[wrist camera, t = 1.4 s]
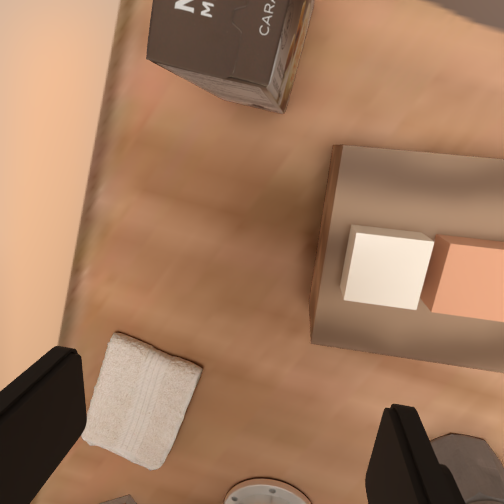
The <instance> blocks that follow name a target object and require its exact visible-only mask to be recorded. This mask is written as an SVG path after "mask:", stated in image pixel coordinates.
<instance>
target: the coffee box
mask: <svg viewBox="0 0 504 504" xmlns="http://www.w3.org/2000/svg"><path fill="white" fill-rule="evenodd" d="M313 7H314V0H153V5H152V12H151V20H150V28H149V36H148V45H147V57H146V59H147V60H150V61H152V62H153V63H155V64H157V65H159V66H161V67H163V68H165V69H167V70H168V71H170V72H172V73H174V74H176V75H178V76H180V77H182V78H184V79H186V80H188V81H189V82H191V83H193V84H195V85H197V86H199V87H200V88H202V89H204V90H206V91H208V92H210V93H211V94H214V95H215V96H217V97H219V98H221V99H223V100H226V101H230V102H235V103H239V104H243V105H247V106H251V107H255V108H259V109H264V110H268V111H272V112H276V113H281V114H284V113H285V111H286V108H287V105H288V101H289V98H290V94H291V90H292V86H293V83H294V79H295V75H296V72H297V68H298V64H299V60H300V56H301V53H302V49H303V45H304V41H305V37H306V33H307V30H308V26H309V22H310V18H311V14H312V10H313Z"/></svg>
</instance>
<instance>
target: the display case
mask: <svg viewBox="0 0 504 504" xmlns="http://www.w3.org/2000/svg"><path fill="white" fill-rule="evenodd" d="M100 504H136V502H135V501H134V500H133V498H132V497H131V496H130V495H127V496H123V497H120V498H117V499H113V500H110V501H107V502H103V503H100Z"/></svg>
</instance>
